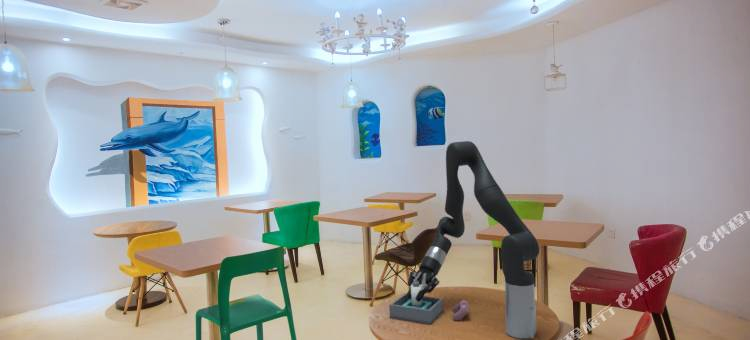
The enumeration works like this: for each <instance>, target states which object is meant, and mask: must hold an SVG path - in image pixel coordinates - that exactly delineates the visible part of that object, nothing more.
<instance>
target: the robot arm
mask: <svg viewBox="0 0 750 340" xmlns="http://www.w3.org/2000/svg"><path fill="white" fill-rule="evenodd" d="M446 147H447V148H446V151H445V152H446V153H445V173H446V196H445V197H446V198H445V202H444V203H445V205H444V212H445V213H446V214H447V215H449V216H443V217H442V218H440V219H439V222H438V224H437V225H438V226H437V231H436V235H435V237H434V240H433V241H432V244H431V245H430V246H429V249H427V251H426V253H425V255H424V257H423V258H422V260H421V262H420V264H419V269H418V270H417V271H415V272H414V271H410V273H409V276H408V281H407V285H408V286H409V289H408V291H407V293H406V294H407V297H408V298H409V299H411V285H413V282H414V281H419V285H421V290H420V291H419V292H418V294H417V296H416V300H417V301H418V302H420V301H421V300H422V298H423V296H425V294H427V293H428V294H431V293H432V291H434V290H435V288H436V287H437V286H438V285H439V284H440V280H439V279H438V278H437V277H436V276H438V275H439V272H440V270H441V268H442V266H443V264H444V262H445V260H446V257H447V255H448V253H449V251H450V249H451V248H452V241H451V240H450V239H449V238H447V237H446V236H445V235H447V236H450V237H452V238H455V239H459V238H461V237H462V236H463V235H464V233H465V220H464V214H463V213H464V211H463V209H464V203H465V193H464V189H463V187H462V185H461V182H460V180H459V176H458V175H459V173H458V172H459V168H460V167H462V166H463V167H464V166H468V167H469V168H470V170H471V172H472V174H473V177H474V185H473V195H474V197H475V200H476V201H477V203H478V204H479V206H480V208H481V210H483V212H484V213H485V214H487V216H489V217H490V219H493V220H494V221H495V222H497V223H498V224H499V225H501V226H502V227H503V228H504V229H505V230H506V232H507V233H508V235H506V236H504V237H503V238H502V240H501V245H500V256H501V268H502V273H503V277H504V296H505V298H504V299H505V301H504V302H505V305H504V306H505V333H506V334H507V335H508V336H510V337H513V338H517V339H525V340H526V339H532V340H533V339H535V336H536V333H537V305H536V303H535V276H534V274H533V273H532V272H531V271H527V270H526V269H525V262H529V261H532V260H535V259H537V257H538V256H539V254H540V245H539V243H538V240H537V238H536V237H535V234H533V233H532V232H531V230H530V229H529V228H528V226H527V225H526V224H525V223H524V221H523V220H522V219H521V218H520V216H519V215H518V214H517V212H516V210H515V209H514V208H513V206H512V204H511V203H510V202H509V200H508V199H507V197H506V196H505V194H504V192H503V190H502V188H501V187H500V186H499V184H498V182H496V179H495V178H494V177H493V175H492V173H491V172H490V170H489V168H488V167H487V164H486V162H485V160H484V159H483V156H482V154H481V153H480V150H479V149H478V147H477V145H476V144H475V143H473V141H468V140H467V141H466V140H465V141H456V142H450V143H449V144H448V146H446Z"/></svg>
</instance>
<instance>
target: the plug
mask: <svg viewBox="0 0 750 340" xmlns="http://www.w3.org/2000/svg"><path fill="white" fill-rule="evenodd" d="M421 286H422V284H421V285H419V281H414V282H413V285H411V307H418V308H422V300H421V301H420V302H418V301H417V300H416V296H417V294H418V292H419V291H420V290H421Z"/></svg>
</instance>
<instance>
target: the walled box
mask: <svg viewBox="0 0 750 340" xmlns="http://www.w3.org/2000/svg"><path fill="white" fill-rule="evenodd" d="M388 306H389V319H393V320H400V321H406V322H413V323H417V324H425V325H429V326H430V325H431V324H433V323H434V322H435V321H436V319H437V318H439V317H440V315H442V314H443V313H444V311H445V310H444V298H442V297H441V298H440V297H436V296H435V297H434V296H426V295H424V296H423V298H422V308H418V307H411V299H409V298H408V297H407V293H404V294H402V295H401V296H400V297H398V298H397V299H395V300H394V301H393V302H391V303H390V304H389V305H388Z"/></svg>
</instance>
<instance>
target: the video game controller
mask: <svg viewBox="0 0 750 340" xmlns="http://www.w3.org/2000/svg"><path fill="white" fill-rule="evenodd" d="M468 305H469V301H467V300H465V299H461V300H460V301H459V302H458V303H457V304H455V305H454V306H453V307H452V312H453V313H454V314H453V315H452V320H453V321H455V322H456V321H460V320H461V319H463V318H465V316H466V315H468V314H469V307H468Z"/></svg>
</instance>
